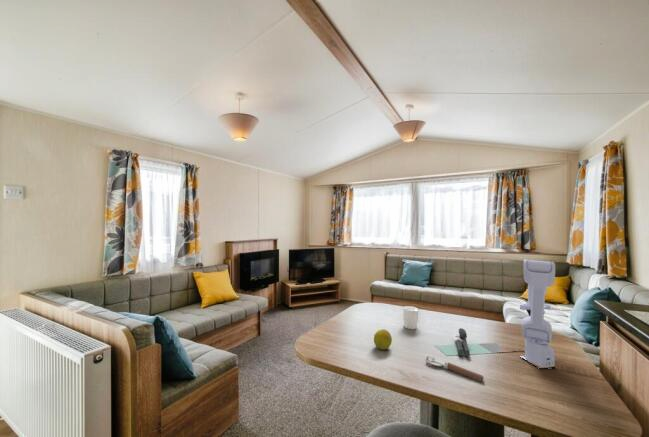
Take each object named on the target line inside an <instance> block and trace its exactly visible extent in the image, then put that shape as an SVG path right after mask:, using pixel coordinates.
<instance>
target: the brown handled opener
mask: <svg viewBox="0 0 649 437" xmlns="http://www.w3.org/2000/svg"><path fill="white" fill-rule="evenodd" d="M429 358H430V359H431V360H432V361H431V360H429ZM424 361H425V362H426V363H427V364H430V365H433V366H436V367H444V369H446V370H450V371H452V372H455V373H457V374H459V375H462V376H464V377H467V378H469V379H472V380H474V379H475V381H477V382H479V383H483V382H484V375H483V374H481V373H480V374H479V373H477V372H476V371H472V370H469V369H467V368H465V367H461V366H459V365H456V364H455V363H454V364H453V363H451V362H449V361H447V360H446V361H443V360H442V359H441V358H439V357H436V356H434V355H432V354H428V355H427V356H426V358H425V359H424Z"/></svg>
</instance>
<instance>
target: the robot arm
mask: <svg viewBox="0 0 649 437" xmlns="http://www.w3.org/2000/svg"><path fill="white" fill-rule="evenodd" d="M522 270H523V280H524V282H525V283H526V284H527V302H525V303H524V304H520V305H519V309H520V310H522V311H526V312H527V314H528V316H526V317H523V319H522V322H521V336H522V337H523V338H524V339H525V341H524V351H525V352H524V355H519V356H520V357H521V358H520V357H519V358H520V359H522V358H524V359H525V360H528V361H529V362H532V363H534V364H536V365H538V366H540V367H550V366H556V365H555V361H556V360H555V357H556V355H555V349H554V348H552V347H551V346H550V345H549V344H550V343H552V341H553V339H552V338H553V333H552V332H553V331H552V330H553V329H552V325H551V323H550V322H549V321H548V320H547V319H545V318H544V316H545V310H549V311H550V310H551V305H550V304H547V303H546V302H545V298H546V292H547V290H548V288H549V287H552V286H554V283H555V276H556V263H555V262H554V261H548V260H547V261H544V260H535V259H534V260H533V259H527V258H525V259H524V260H523V269H522ZM545 303H546V304H545ZM524 356H525V357H524ZM525 360H524V361H525Z"/></svg>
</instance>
